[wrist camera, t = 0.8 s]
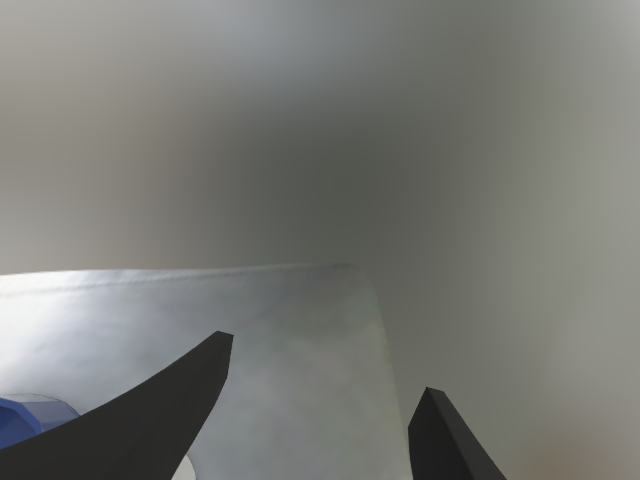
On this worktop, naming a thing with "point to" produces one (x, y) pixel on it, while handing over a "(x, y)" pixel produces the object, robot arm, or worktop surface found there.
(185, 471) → the eye dropper bottle
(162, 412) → the robot arm
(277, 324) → the worktop surface
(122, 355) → the worktop surface
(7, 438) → the blue bowl
